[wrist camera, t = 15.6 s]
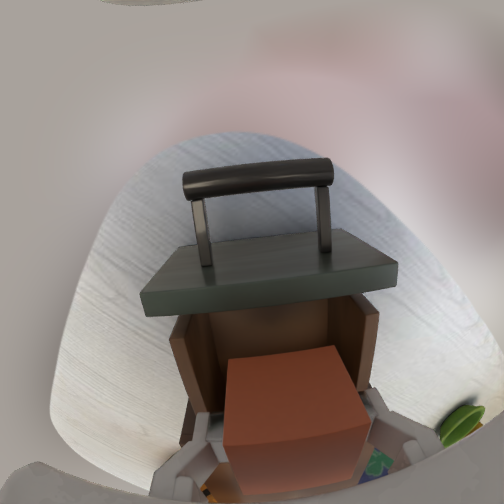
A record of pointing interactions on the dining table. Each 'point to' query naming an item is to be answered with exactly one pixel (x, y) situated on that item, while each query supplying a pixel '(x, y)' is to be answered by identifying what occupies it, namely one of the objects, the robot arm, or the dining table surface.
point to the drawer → (267, 285)
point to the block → (292, 421)
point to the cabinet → (229, 491)
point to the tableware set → (461, 424)
